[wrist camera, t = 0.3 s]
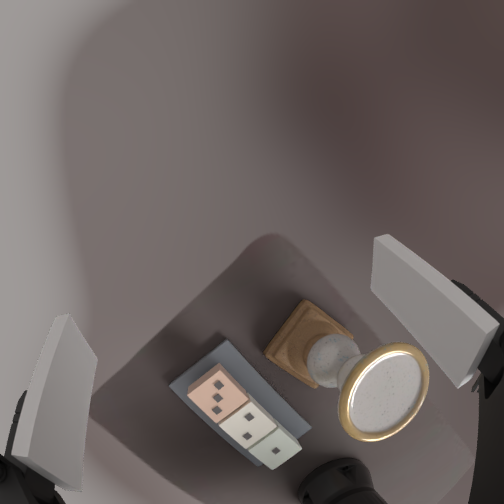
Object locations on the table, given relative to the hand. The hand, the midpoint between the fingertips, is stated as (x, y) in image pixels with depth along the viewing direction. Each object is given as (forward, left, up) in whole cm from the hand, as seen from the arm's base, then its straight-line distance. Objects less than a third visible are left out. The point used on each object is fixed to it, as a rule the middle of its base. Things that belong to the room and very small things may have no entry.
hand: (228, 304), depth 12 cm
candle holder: (-17, -5, -33) cm, 38 cm away
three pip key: (-12, +10, -30) cm, 34 cm away
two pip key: (-19, +10, -30) cm, 37 cm away
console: (-19, +10, -33) cm, 39 cm away
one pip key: (-25, +10, -30) cm, 41 cm away
